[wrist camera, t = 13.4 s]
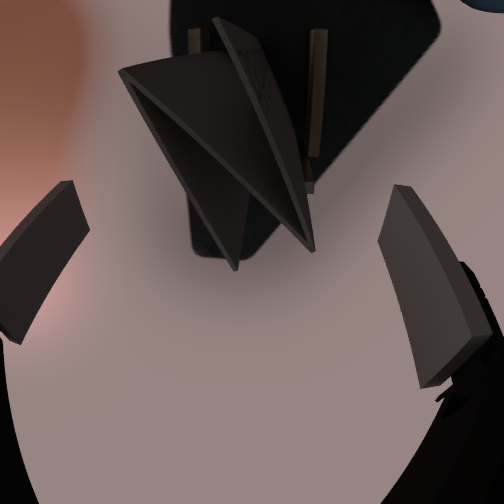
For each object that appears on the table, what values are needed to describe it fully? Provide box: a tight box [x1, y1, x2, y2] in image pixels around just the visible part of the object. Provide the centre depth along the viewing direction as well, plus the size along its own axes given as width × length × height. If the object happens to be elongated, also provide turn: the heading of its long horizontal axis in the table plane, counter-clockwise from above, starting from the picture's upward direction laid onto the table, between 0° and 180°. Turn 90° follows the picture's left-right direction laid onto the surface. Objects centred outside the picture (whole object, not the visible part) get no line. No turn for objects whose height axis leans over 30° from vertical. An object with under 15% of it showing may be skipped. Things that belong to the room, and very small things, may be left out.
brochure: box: [118, 17, 316, 271], centre depth 25 cm, size 14×6×30 cm, turn 22°
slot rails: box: [188, 28, 328, 157], centre depth 34 cm, size 17×18×6 cm
